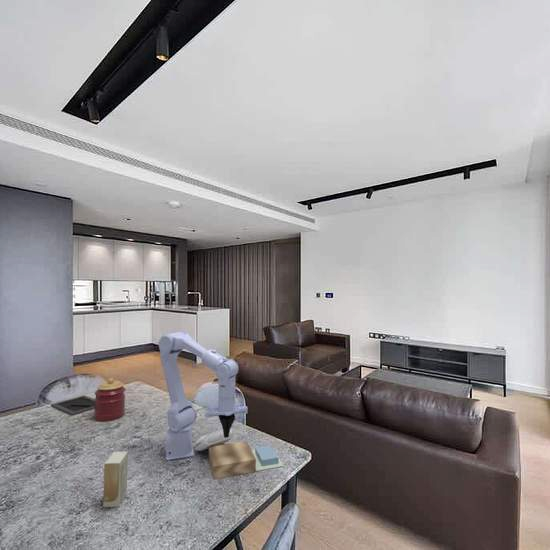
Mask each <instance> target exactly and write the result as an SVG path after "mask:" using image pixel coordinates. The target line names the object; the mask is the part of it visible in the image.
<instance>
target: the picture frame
mask: <svg viewBox="0 0 550 550" xmlns="http://www.w3.org/2000/svg"><path fill="white" fill-rule="evenodd" d="M94 400H95V398H93V397H91V396H90V397H89V396H87V395H81V396H77V397H73V398H70V399H66V400H65V399H64V400H63V401H62V400H61V401H58V402H55V403H51V404H50V407H51V408H53V409H56V410H58V411H60V412H62V413H64V414H67V415H68V416H71V417H73V416H76V415H80V414H83V413H85V412H89V411H92V410H94V409H95V401H94Z"/></svg>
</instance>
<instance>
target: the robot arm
mask: <svg viewBox="0 0 550 550" xmlns="http://www.w3.org/2000/svg"><path fill="white" fill-rule="evenodd" d="M157 344H158V349H159V353H160V354H159V355H160V356H159V357H160V358H159V359H160V363H161V367H162V370H163V371H162V372H163V375H164V380H165V383H166V388H167V392H168V395H169V400H170V407H168V409H167V411H166V413H167V426H168V428H169V429H166V435H165V436H166V437H165V438H166V443H165V446H164V452H165V460H166V461H171V460H177V459H184V458H191V457H194V449H193V427H194V423H195V421H196V420H197V418H198V414H197V410H196V409H195V407H194V405H193V402H192V400H189V399H187V397H186V393H185V389H184V385H183V381H182V376H181V373H180V369H179V365H178V360H177V357H178V356H179V354H180V353H181V352H182V351H183V350H186V351H188V352H189V353H191V354H193V355H195V356H196V357H198V358H200V359H201V363H202V364H203V365H204V366H206V367H207V368H209V369H210V370H211V371H213V372H215V376H216V377H217V382H218V400H217V401H218V404H217V406H218V407H215V408H210V409H207V410H204V417H205V419H209V418H214V417H218V419H219V421H220V424H221V428H222V429H223V434H224V438H227V437H229V432H230V429H232V427H233V424H234V422H235V421H236V420H235V419H236V416H235V415H237V414H248V406H247V405H241V406H240V405H238V406H237V405H236V375H237V374H238V373H239V364H238V362H237V361H235V360H234V359H232V358H231V359H227V357H226V356H222V355H221V354H220V353H218V352H217V351H218V350H216V349H208V350H207V349H206V348H205V347H204V346H202V345H201V344H199V343H198V342H197V341H195V340H194V339H193V338H192V337H191V335H190V334H188V333H186V332H185V331H177V332H172V333H164V334H163V335H162V336H161V337H160V339H159V340H158V342H157Z"/></svg>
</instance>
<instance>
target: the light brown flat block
mask: <svg viewBox="0 0 550 550" xmlns="http://www.w3.org/2000/svg"><path fill="white" fill-rule="evenodd" d="M251 450H252V448H251V446H250V445H249V443H248V441H247V440H246V441H239V442H231V443H230V442H229V443H223V444H221V445H217V446H210V447H209V449H208V461H209V465H210V466H209V467H210V470H211V476H212V478H213V480H218V479H223V478H227V477H234V476H238V475H244V474H250V473H255V472H257V471H256V459H255V457H254V455H253V453H252V451H251Z"/></svg>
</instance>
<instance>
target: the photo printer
mask: <svg viewBox="0 0 550 550" xmlns="http://www.w3.org/2000/svg"><path fill="white" fill-rule="evenodd" d="M233 437H234V432H233V428H231V429H230V432H229V437H227V438H224V434H223V428H222V429H220V430H216V431H213V432H210V433H207V434H204V435H203V436H201V437H199V438H198V439H197V440H196V441H195V443H194V446H195V450H196V451H198V452H203V451H206V450H209V447H210V446H217V445H224V444H227V442H229V441H230V440H232V439H233Z"/></svg>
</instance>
